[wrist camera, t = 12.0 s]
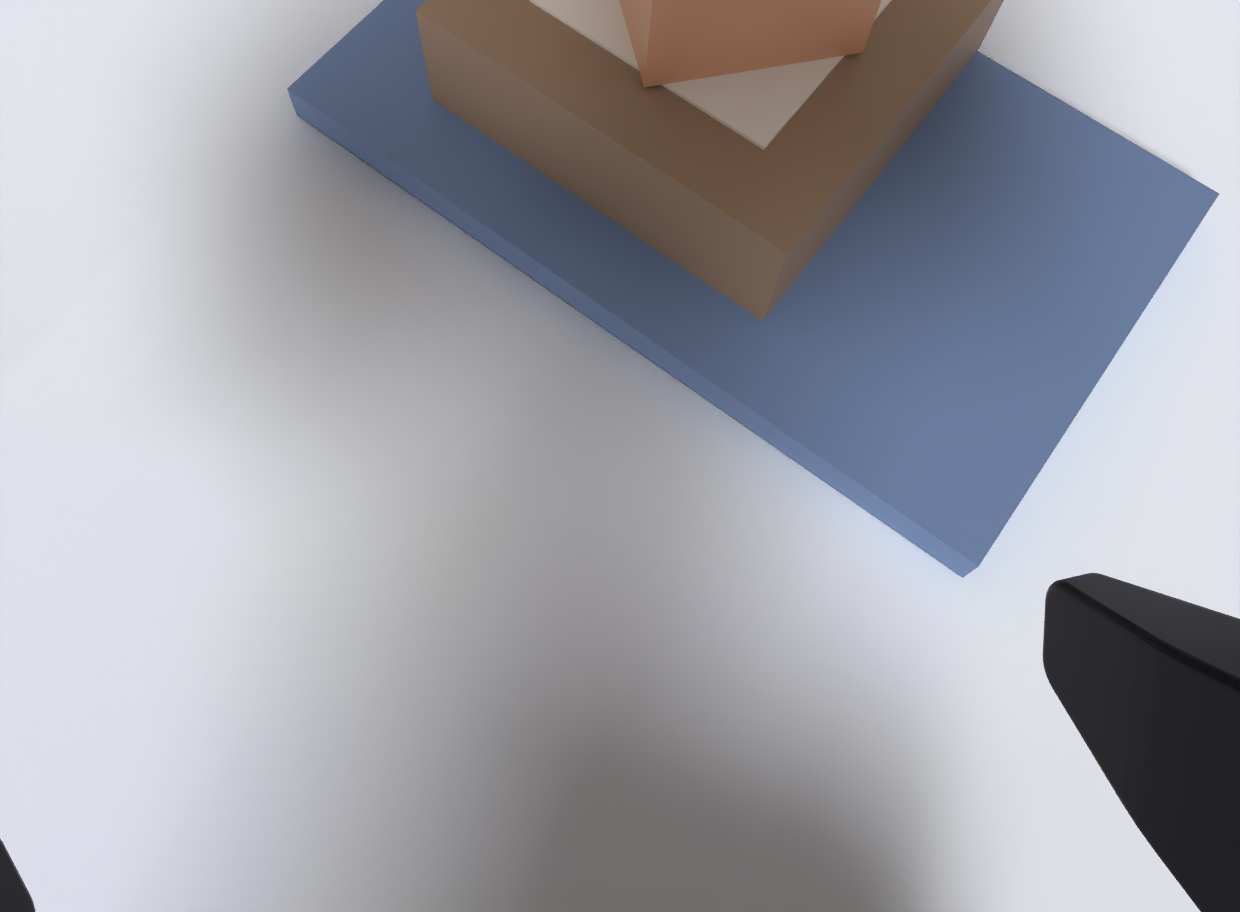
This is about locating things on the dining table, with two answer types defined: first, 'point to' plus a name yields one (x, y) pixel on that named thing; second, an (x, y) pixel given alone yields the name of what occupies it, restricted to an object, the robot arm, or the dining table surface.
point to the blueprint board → (875, 312)
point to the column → (741, 34)
